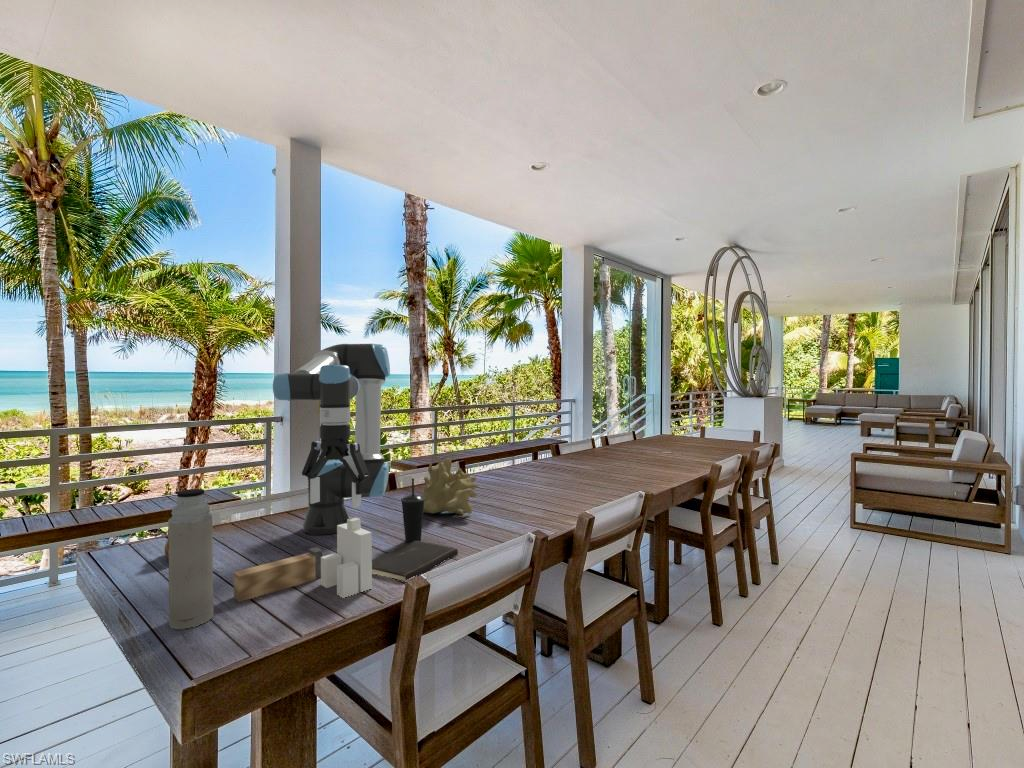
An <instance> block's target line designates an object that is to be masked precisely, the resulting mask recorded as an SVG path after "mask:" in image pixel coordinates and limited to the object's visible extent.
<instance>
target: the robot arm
mask: <svg viewBox="0 0 1024 768" xmlns="http://www.w3.org/2000/svg"><path fill="white" fill-rule="evenodd" d="M390 375H391V367H390V359H389V354H388V350H387V348H386V346H385V345H384V344H378V343H341V344H340V343H339V344H335V345H331V346H328V347H325V348H323V349H321V350H319V351H317V352H316V353H314V355H313V356H312V358H311V360H310V361H308V362H307V363H305V364H304V365H302V366H301V367H299V368H298V369H297V370H295V371H294V372H292V373H291V372H290V373H289V372H288V373H287V372H285V373H277V374H275V376H274V378H273V379H272V380H273V381H272V392H273V396H274V398H275V399H276V400H278V401H288V402H290V401H291V402H292V401H319V422H320V423H321V424H320V426H319V438H320V440H316V441H312V442H311V444H310V445H311V447H310V451H309V454H308V457H307V459H306V461H305V464H304V466H303V469H302V472H301V476H303V477H304V476H305V477H307V483H308V484H307V487H308V488H307V489H308V490H307V491H308V492H307V493H308V495H307V497H308V498H307V499H308V508H307V512H306V514H305V518H304V521H303V525H302V531H304V532H305V534H306V533H308V534H307V535H311V534H314V535H313V536H324V535H331V534H333V535H334V534H337V525H341V524H345V523H347V519H350V518H349V514H348V511H347V510H346V506H345V499H351V508H352V509H357V508H359V507H362V498H369V499H371V498H377V497H378V498H379V497H382V496H384V494H385V492H386V489H387V486H388V481H389V475H390V465H389V463H388V462H385V457H384V456H383V454H381V425H382V424H381V412H382V410H381V409H382V408H381V407H382V405H381V404H382V386H383V385H384V384H385V383H386V378H387V377H390ZM353 398H355V419H354V421H355V422H354V423H355V426H354V427H355V428H354V430H355V431H354V442H352V443H350V440H349V439H350V437H351V425H350V424H349V423H350V422H351V404H350V403H351V400H352V399H353ZM321 450H322V452H321ZM304 532H303V533H304Z"/></svg>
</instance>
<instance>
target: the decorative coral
mask: <svg viewBox="0 0 1024 768" xmlns="http://www.w3.org/2000/svg"><path fill="white" fill-rule="evenodd" d="M452 459H453V458H452V457H448V458H446V459H445V460H444V461H439V462H438V463H437V464H436V465H435V466H434V467H433V464H432V463H429V464H428V465H429V466H428V468H427V471H428V474H429V477H428V476H425V477H424V478H423V481H424V486H423V487H424V488H423V493H422V495H421V496H423V497H425V500H424V510H423V514H436V513H441V512H442V513H443V512H447V513H454V514H457V515H461V516H463V515H464V514H465V513H466V514H472V513H473V506H472V505H471V504H470V502H469V499H470V498H474V499H475V498H476V497H477V493H476V492H475V491H474V489H477V488H478V487H479V484H477V483H474V482H475V481H476V480H477V479H478V478H477V477H476V476H472V477H470V476H471V474H470V473H468V472H464V471H463V469H462V468H458V470H457V472H454V473H453V472H452V471H451V468H452Z"/></svg>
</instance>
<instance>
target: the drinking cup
mask: <svg viewBox="0 0 1024 768" xmlns="http://www.w3.org/2000/svg"><path fill="white" fill-rule="evenodd" d="M424 500H425V497H423V496H422V495H420V494H417V493H415V478H411V494H408V495H406V496H403V497H401V498H400V502H401V507H402V508H401V509H402V519H403V527H404V528H403V529H404V538H405V539H404V540H405V543H406V544H409V543H411V542H413V541H415V540H416V541H421V542H422V531H423V520H424V512H423V510H424Z"/></svg>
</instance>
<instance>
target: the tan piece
mask: <svg viewBox="0 0 1024 768" xmlns="http://www.w3.org/2000/svg"><path fill="white" fill-rule="evenodd" d="M321 557H323V549H321V548H319V547H317V546H316V547H312V548H308V552H307V553H301V554H299V555H295V556H290V557H287V558H283V559H282V558H281V559H280V560H275V561H274V560H273V561H272V562H268V563H263V564H260V565H256V566H251V567H248V568H244V569H240V570H236V571H234V572H233V598H234V597H235V598H236V599H238V600H239V601H242V602H245V601H244V600H246V601H248V600H247V599H249V600H252V599H255V598H254V597H256V598H258V597H257V596H259V597H261V596H260V595H262V596H264V595H263V594H266V595H268V593H269V594H272V593H276V592H279V591H282V590H285V589H288V588H292V587H295V586H299V585H302V584H306V583H309V582H312V581H316V580H317V578H318V579H321V578H320V577H321ZM305 582H306V583H305ZM275 591H276V592H275ZM271 592H272V593H271ZM235 598H234V599H235ZM251 598H252V599H251ZM236 599H235V600H236ZM238 600H237V601H238ZM239 601H238V602H239Z"/></svg>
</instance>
